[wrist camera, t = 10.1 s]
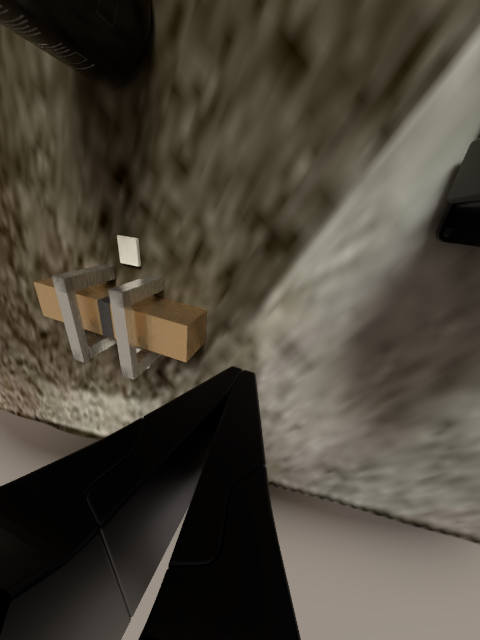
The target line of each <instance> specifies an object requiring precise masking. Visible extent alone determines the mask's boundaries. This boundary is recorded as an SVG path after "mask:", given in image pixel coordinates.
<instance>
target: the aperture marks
mask: <svg viewBox="0 0 480 640" xmlns="http://www.w3.org/2000/svg"><path fill="white" fill-rule="evenodd" d="M117 240H118V248H119V256H120V263H123V264H128V265H133V266H138V267H139V266H141V261H140V250H139V239H138V238H133V237H127V236H121V235H117ZM141 349H143V348H141V347H137V346H136V352H139V351H140V350H141ZM149 368H150V366H149V367H148V368H147V369H149Z"/></svg>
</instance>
